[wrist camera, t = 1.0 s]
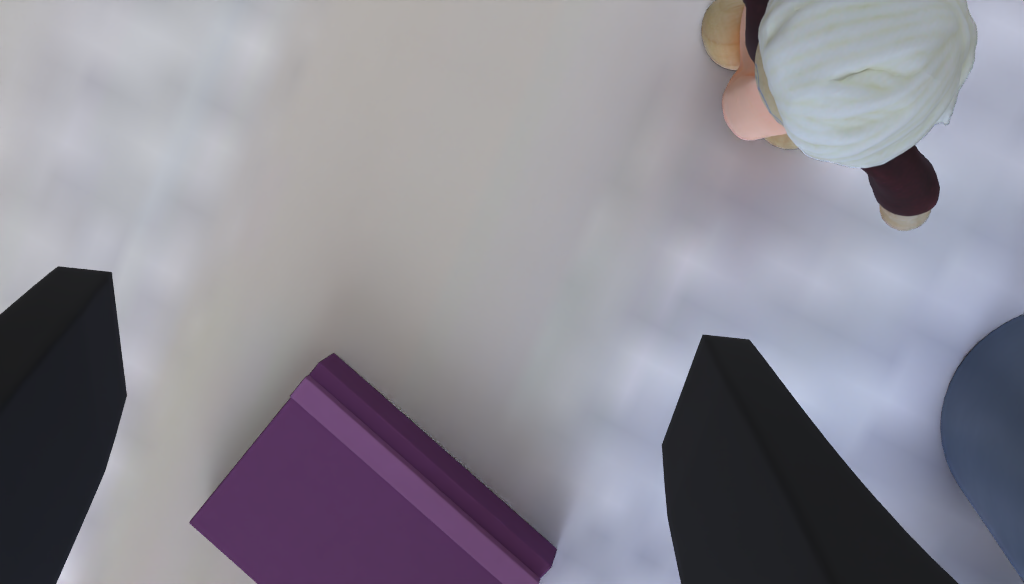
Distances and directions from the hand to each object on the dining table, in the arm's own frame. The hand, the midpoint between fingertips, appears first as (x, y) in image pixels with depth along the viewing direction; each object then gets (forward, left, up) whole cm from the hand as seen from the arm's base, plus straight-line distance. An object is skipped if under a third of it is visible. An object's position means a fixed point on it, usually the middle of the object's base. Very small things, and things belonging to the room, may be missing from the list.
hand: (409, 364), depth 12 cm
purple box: (-2, +11, -16) cm, 20 cm away
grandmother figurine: (-2, -7, -16) cm, 18 cm away
